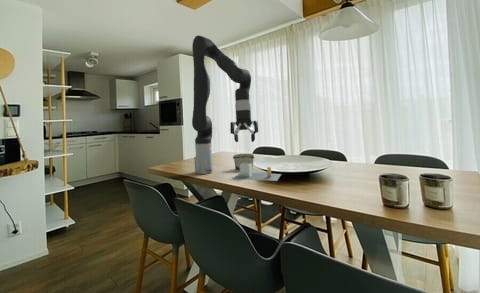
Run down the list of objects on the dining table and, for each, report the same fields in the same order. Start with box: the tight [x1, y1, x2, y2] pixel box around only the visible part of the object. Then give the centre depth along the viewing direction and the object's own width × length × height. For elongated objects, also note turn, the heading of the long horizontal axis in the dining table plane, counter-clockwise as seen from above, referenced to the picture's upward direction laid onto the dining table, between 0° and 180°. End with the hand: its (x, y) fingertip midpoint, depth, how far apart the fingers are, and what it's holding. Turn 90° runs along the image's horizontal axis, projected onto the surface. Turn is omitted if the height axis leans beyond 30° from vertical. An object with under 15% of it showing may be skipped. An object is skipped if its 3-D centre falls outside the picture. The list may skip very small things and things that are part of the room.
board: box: [232, 166, 282, 182], centre depth 120 cm, size 22×14×6 cm, turn 72°
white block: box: [239, 163, 253, 177], centre depth 121 cm, size 5×5×6 cm
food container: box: [232, 153, 255, 171], centre depth 139 cm, size 12×6×10 cm, turn 84°
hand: (244, 141), depth 121 cm, fingers open, 8 cm apart
